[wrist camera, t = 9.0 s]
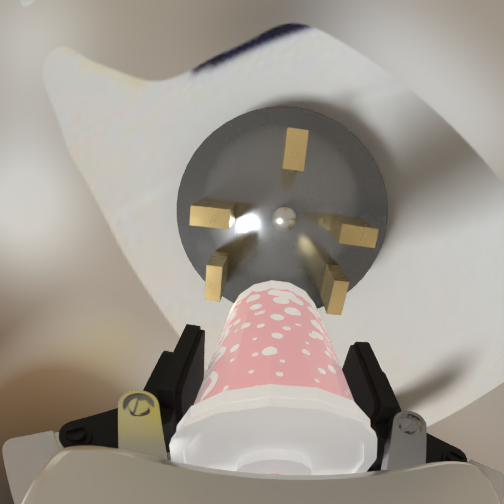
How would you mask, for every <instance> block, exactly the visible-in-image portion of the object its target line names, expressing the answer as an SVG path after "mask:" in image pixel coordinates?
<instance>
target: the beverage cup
mask: <svg viewBox="0 0 504 504" xmlns="http://www.w3.org/2000/svg"><path fill="white" fill-rule="evenodd" d="M169 448H170V454H171V460H172V461H175V462H180V463H185V464H190V465H196V466H202V467H208V468H214V469H221V470H229V471H237V472H247V473H259V474H276V475H333V474H350V473H362V472H367V470H368V469H369V468H370V467H371V465H372V464H373V463H374V461H375V460H376V459H377V436H376V433H375V431H374V430H373V429H372V428H371V427H370V419H369V418H368V417H367V415H366V414H365V413H364V412H363V411H362V410H361V409H360V408H359V407H358V405H357V404H356V403H355V402H354V399H353V397H352V394H351V391H350V389H349V386H348V384H347V381H346V379H345V376H344V374H343V371H342V369H341V366H340V364H339V361H338V359H337V356H336V354H335V351H334V349H333V346H332V344H331V341H330V339H329V337H328V334H327V332H326V329H325V327H324V325H323V322H322V320H321V317H320V315H319V313H318V310H317V308H316V306H315V303H314V302H313V301H312V299H311V298H310V297H309V296H308V294H307V293H306V292H305V291H304V290H302V289H301V288H299V287H297V286H295V285H293V284H291V283H289V282H281V281H273V280H271V281H266V282H262V283H258V284H254V285H253V286H251V287H250V288H248V289H247V290H245V291H244V292H242V293H241V294H240V295H239V297H238V298H237V300H236V301H235V303H234V305H233V306H232V308H231V311H230V313H229V316H228V318H227V321H226V324H225V326H224V329H223V331H222V334H221V336H220V339H219V341H218V344H217V347H216V349H215V352H214V354H213V357H212V359H211V362H210V365H209V367H208V370H207V372H206V375H205V377H204V380H203V382H202V385H201V388H200V390H199V393H198V395H197V398H196V400H195V403H194V405H193V406H191V407H190V408H189V410H188V411H187V412H186V414H185V415H184V417H183V418H182V419H181V421H180V422H179V423H178V425H177V428H176V433H175V434H174V436H173V437H172V438H171V441H170V444H169Z"/></svg>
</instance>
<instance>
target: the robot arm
mask: <svg viewBox="0 0 504 504" xmlns="http://www.w3.org/2000/svg"><path fill="white" fill-rule="evenodd" d="M204 343H205V331H204V330H201V329H200V326H196V325H189V324H187V325H186V327H185V329H184V331H183V333H182V335H181V337H180V339H179V341H178V344H177V346H176V348H175V350H174V352H168V351H164V352H163V353H162V354H161V356H160V358H159V360H158V362H157V364H156V366H155V368H154V370H153V372H152V374H151V376H150V378H149V380H148V382H147V384H146V386H145V388H144V390H143V391H141V390H135V391H130V392H128V393H126V394H124V395H123V396H122V397H121V398H120V400H119V403H118V408H116V409H113V410H110V411H107V412H103V413H100V414H97V415H93V416H89V417H86V418H82V419H78V420H75V421H71V422H69V423H66V424H65V425H64V426H62V428H61V429H60V431H59V432H58V433H53V431H48V432H43V433H38V434H33V435H28V436H22V437H17V438H12V439H9V440H8V441H6V442H5V443H4V446H3V452H2V453H3V458H4V464H5V468H6V472H7V477H8V481H9V485H10V489H11V493H12V496H13V500H14V503H15V504H502V500H503V497H504V474H503V473H501V472H499V471H497V470H494V469H492V468H490V467H487V466H485V465H482V464H480V463H477V462H475V461H473V460H470V461H469V462H468V461H467V458H466V456H465V454H464V453H463V452H462V451H461V450H460V449H458V448H456V447H454V446H452V445H450V444H448V443H445V442H444V441H442V440H440V439H438V438H436V437H434V436H432V435H430V434H428V433H426V422H425V421H424V419H423V418H422V417H421V416H420V415H419V414H417V413H415V412H412V411H401V409H400V406H399V404H398V402H397V399H396V397H395V395H394V393H393V390H392V388H391V386H390V384H389V381H388V379H387V377H386V375H385V373H384V372H382V370H381V368H380V366H379V363H378V361H377V359H376V357H375V355H374V352H373V350H372V348H371V346H370V344H369V343H368V342H355V344H354V345H351V346H350V348H349V351H348V354H347V357H346V360H345V363H344V366H343V368H342V371H343V374H344V376H345V379H346V381H347V384H348V386H349V389H350V391H351V394H352V397H353V399H354V402H355V403H356V404H357V405H358V407H359V408H360V409H361V410H362V411H363V412H364V413H365V414H366V415H367V417H368V418H369V419H370V427H371V428H372V429H373V430H374V431H375V433H376V436H377V459H376V460H375V461H374V463H373V464H372V465H371V467H370V468H369V469H368V470H367V472H362V473H350V474H333V475H276V474H259V473H247V472H237V471H229V470H221V469H214V468H208V467H202V466H196V465H190V464H185V463H180V462H175V461H170V460H168V455H167V453H168V452H170V448H169V444H170V441H171V438H172V437H173V436H174V434H175V433H176V428H177V425H178V423H179V422H180V421H181V419H182V418H183V417H184V415H185V414H186V412H187V411H188V410H189V408H190V407H191V406H193V405H194V403H195V400H196V398H197V395H198V393H199V390H200V388H201V385H202V382H203V380H204Z"/></svg>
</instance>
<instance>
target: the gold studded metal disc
mask: <svg viewBox="0 0 504 504" xmlns="http://www.w3.org/2000/svg"><path fill="white" fill-rule="evenodd" d="M177 222H178V229H179V234H180V238H181V241H182V245H183V247H184V249H185V252H186V254H187V256H188V258H189V260H190V262H191V263H192V265H193V267H194V268H195V270H196V271H197V272H198V274H199V275H200V276H201V277H202V279H203V280H204V281H205V282H206V283H205V300H212V301H219V302H220V300H221V297H222V296H223V297H225V298H226V299H228V300H230V301H231V302H233V303H235V301H236V300H237V298H238V297H239V295H240V294H241V293H242V292H244V291H245V290H247V289H248V288H250V287H251V286H253V285H254V284H258V283H262V282H266V281H271V280H273V281H281V282H289V283H291V284H293V285H295V286H297V287H299V288H301V289H302V290H304V291H305V292H306V293H307V294H308V296H309V297H310V298H311V299H312V301H313V302H314V303H315V306H316V308H320V307H323V306H324V307H325V310H326V313H327V314H335V315H341V313H342V309H343V305H344V301H345V297H346V293H347V292H348V291H349V290H351V289H352V288H353V287H354V286H355V285H356V284H357V283H358V282H359V281H360V280H361V279H362V278H363V277H364V275H365V274H366V273H367V272H368V270H369V269H370V268H371V266H372V264H373V262H374V261H375V259H376V257H377V255H378V253H379V250H380V248H381V246H382V243H383V239H384V235H385V232H386V225H387V197H386V190H385V186H384V183H383V179H382V176H381V174H380V171H379V169H378V167H377V164H376V163H375V161H374V159H373V157H372V156H371V154H370V152H369V151H368V150H367V149H366V147H365V146H364V145H363V144H362V142H361V141H360V140H359V139H358V138H357V137H356V136H355V135H354V134H352V133H351V132H350V131H349V130H348V129H346V128H345V127H344V126H342V125H341V124H339V123H338V122H336V121H334V120H332V119H330V118H328V117H326V116H324V115H321V114H319V113H316V112H313V111H310V110H305V109H300V108H293V107H271V108H264V109H259V110H254V111H251V112H248V113H245V114H243V115H240V116H238V117H236V118H234V119H232V120H230V121H228V122H226V123H225V124H223V125H222V126H221V127H219V128H218V129H216V130H215V131H214V132H213V133H212V134H211V135H210V136H209V137H207V138H206V139H205V140H204V141H203V143H202V144H201V145H200V146H199V148H198V149H197V150H196V151H195V153H194V154H193V156H192V158H191V160H190V161H189V163H188V165H187V167H186V169H185V172H184V174H183V177H182V180H181V184H180V187H179V191H178V199H177Z"/></svg>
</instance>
